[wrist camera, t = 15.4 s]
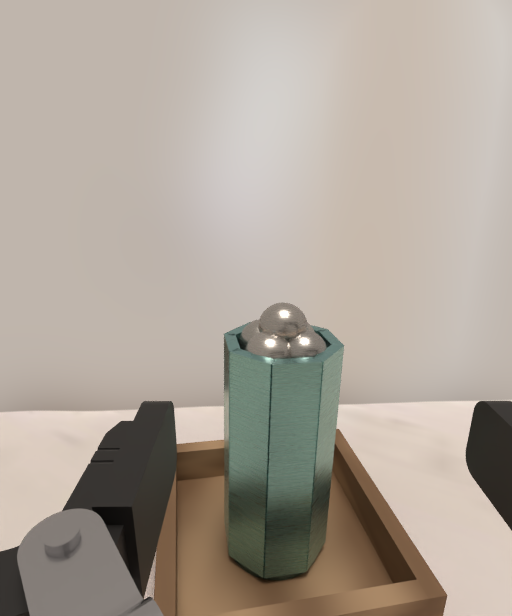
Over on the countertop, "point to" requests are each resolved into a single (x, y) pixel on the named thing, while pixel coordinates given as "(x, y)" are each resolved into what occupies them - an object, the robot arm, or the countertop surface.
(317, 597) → the walnut tray
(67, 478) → the countertop surface
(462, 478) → the countertop surface
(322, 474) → the teal octagonal tall prism
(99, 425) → the countertop surface
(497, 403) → the robot arm
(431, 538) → the countertop surface
